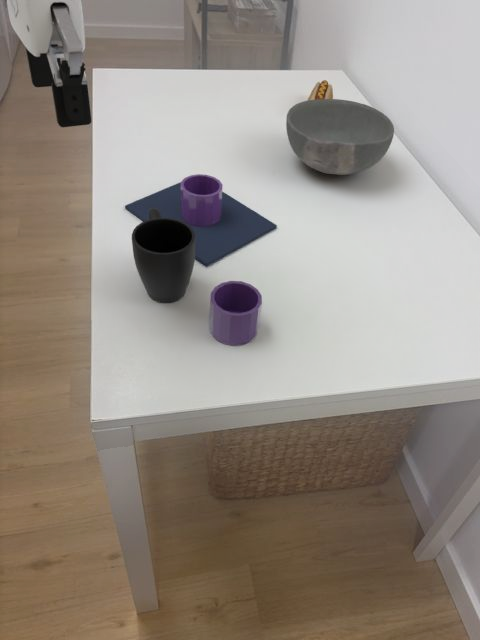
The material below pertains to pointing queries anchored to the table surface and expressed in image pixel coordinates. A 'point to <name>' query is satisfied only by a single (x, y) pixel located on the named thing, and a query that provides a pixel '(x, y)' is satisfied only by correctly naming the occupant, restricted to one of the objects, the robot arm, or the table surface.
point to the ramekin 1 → (201, 200)
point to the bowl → (338, 135)
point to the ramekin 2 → (235, 312)
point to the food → (321, 91)
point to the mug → (164, 256)
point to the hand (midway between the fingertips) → (61, 104)
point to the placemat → (211, 240)
